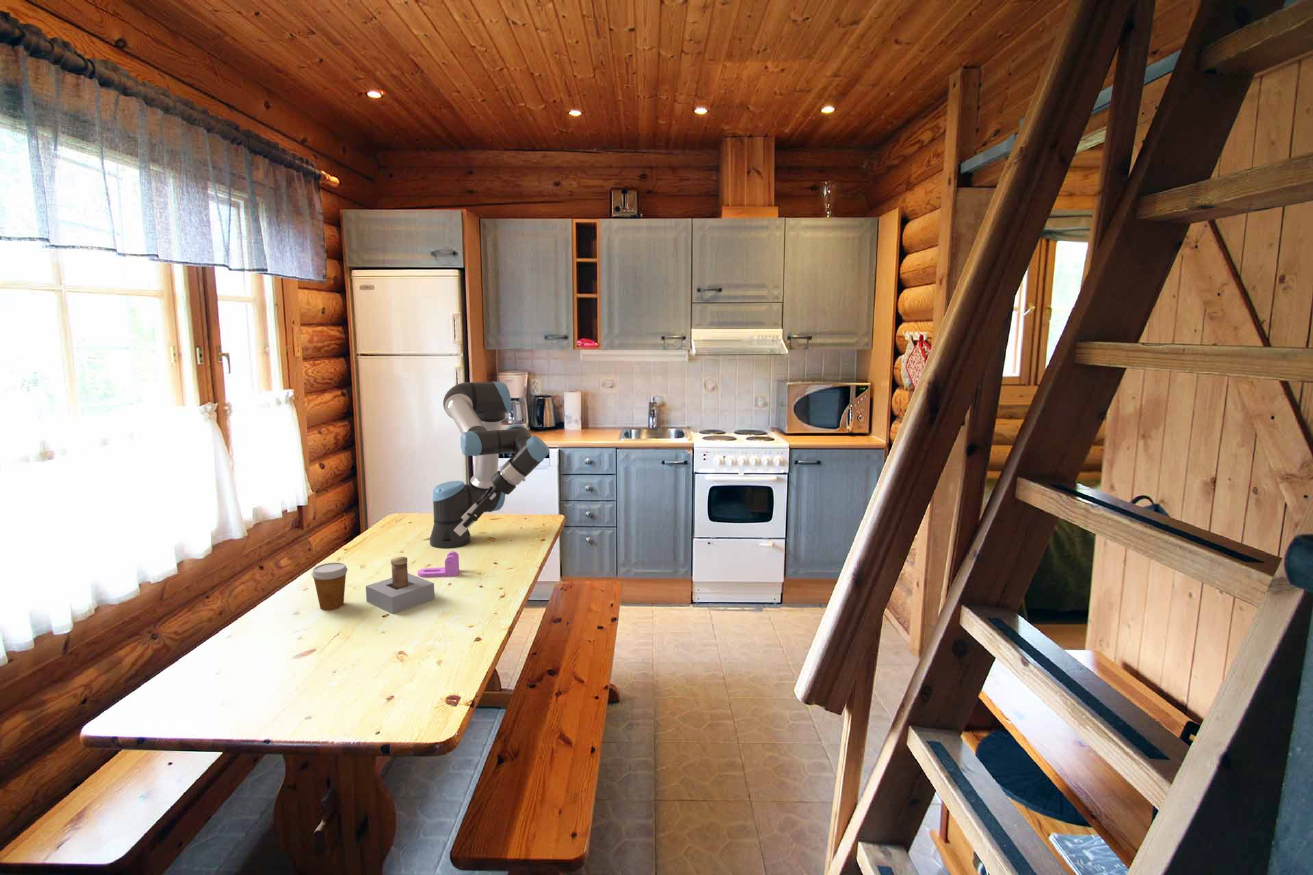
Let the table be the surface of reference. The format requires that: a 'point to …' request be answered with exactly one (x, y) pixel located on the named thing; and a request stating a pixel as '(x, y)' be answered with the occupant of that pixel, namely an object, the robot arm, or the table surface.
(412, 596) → the socket block
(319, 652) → the table surface
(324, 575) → the disposable coffee cup
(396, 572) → the walnut pin
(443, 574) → the bracket
